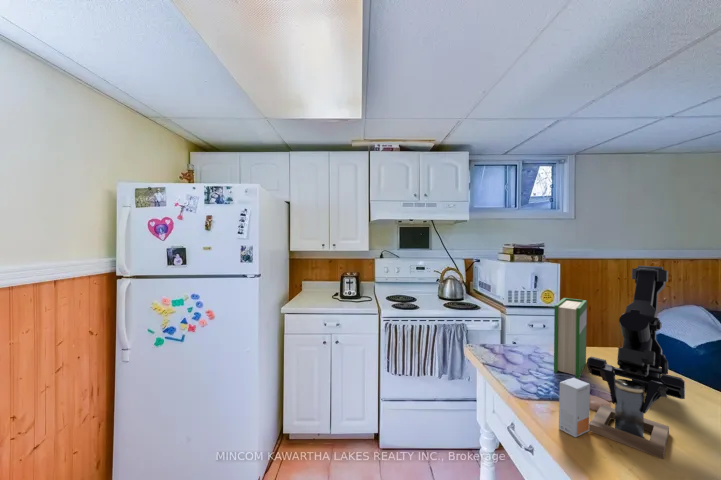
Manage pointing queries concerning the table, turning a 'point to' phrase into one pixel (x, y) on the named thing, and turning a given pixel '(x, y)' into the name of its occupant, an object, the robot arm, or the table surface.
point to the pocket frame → (651, 446)
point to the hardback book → (570, 336)
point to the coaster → (597, 403)
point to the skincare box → (574, 406)
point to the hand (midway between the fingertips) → (628, 407)
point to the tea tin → (629, 406)
